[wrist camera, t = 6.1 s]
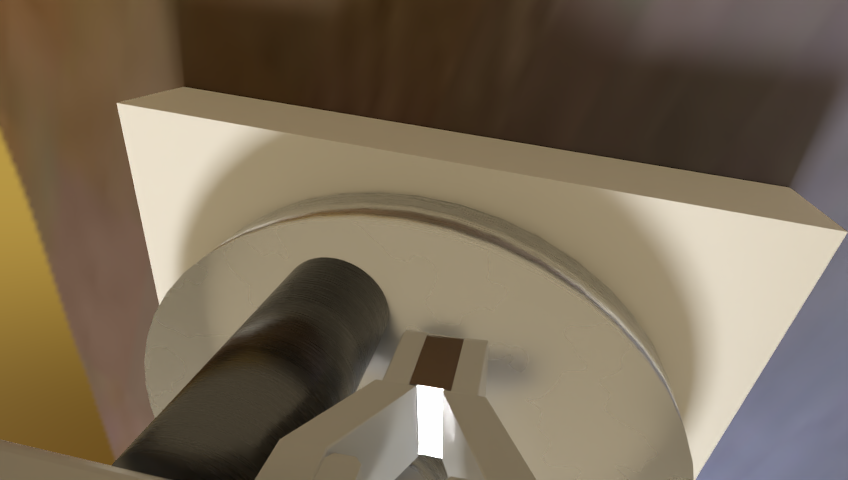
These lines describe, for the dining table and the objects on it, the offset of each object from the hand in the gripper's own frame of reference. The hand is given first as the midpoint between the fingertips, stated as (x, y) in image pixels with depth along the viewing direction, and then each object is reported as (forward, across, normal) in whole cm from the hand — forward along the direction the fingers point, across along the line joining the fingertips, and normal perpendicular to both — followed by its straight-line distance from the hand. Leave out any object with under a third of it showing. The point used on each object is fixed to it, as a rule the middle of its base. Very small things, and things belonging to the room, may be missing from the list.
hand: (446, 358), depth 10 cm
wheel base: (+7, -2, -7) cm, 10 cm away
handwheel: (+4, -2, -7) cm, 8 cm away
